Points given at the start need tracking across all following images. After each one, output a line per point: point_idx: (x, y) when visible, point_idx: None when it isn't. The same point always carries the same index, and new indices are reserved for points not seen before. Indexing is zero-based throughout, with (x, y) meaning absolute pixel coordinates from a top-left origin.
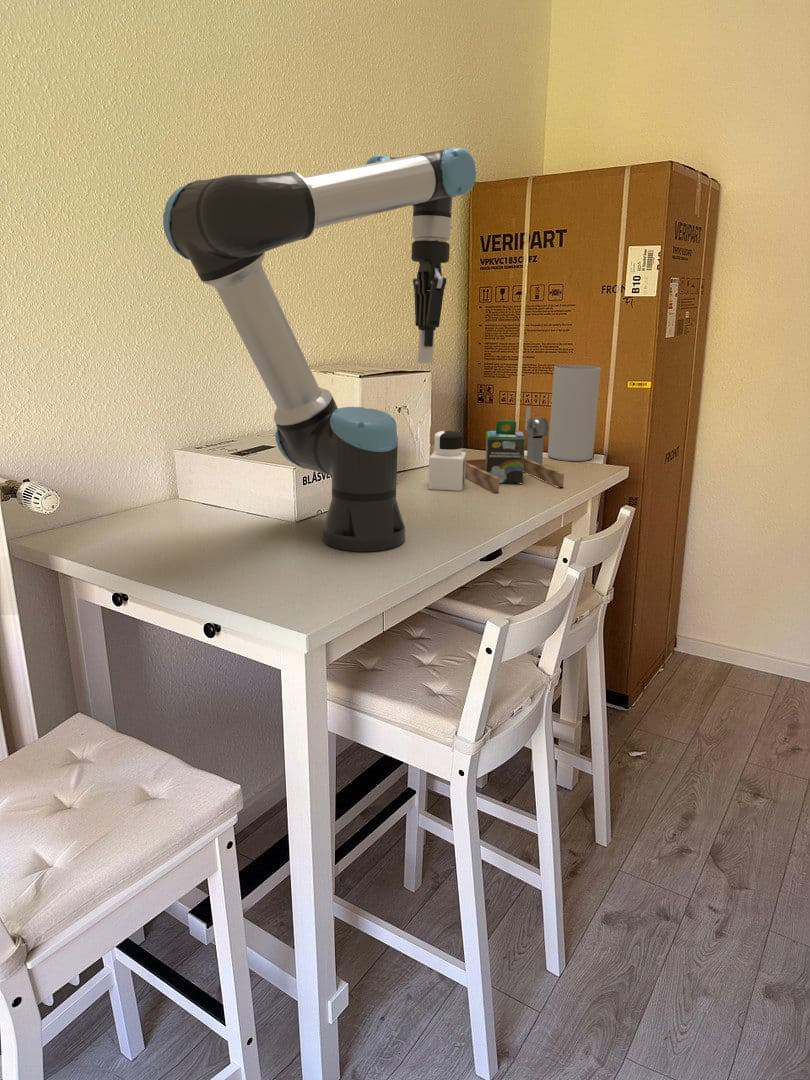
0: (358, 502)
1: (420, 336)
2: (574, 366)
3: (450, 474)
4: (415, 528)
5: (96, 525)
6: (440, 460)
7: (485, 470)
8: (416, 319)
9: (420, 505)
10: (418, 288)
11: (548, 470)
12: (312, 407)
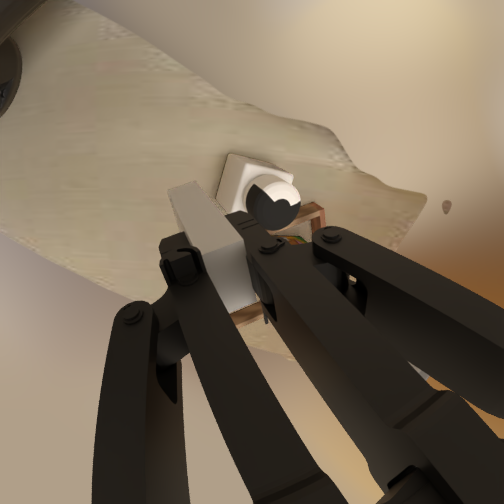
0: None
1: (206, 231)
2: (428, 375)
3: (226, 190)
4: (20, 137)
5: None
6: (238, 180)
7: (296, 239)
8: (347, 246)
9: (132, 136)
10: (467, 442)
11: (260, 313)
12: None
